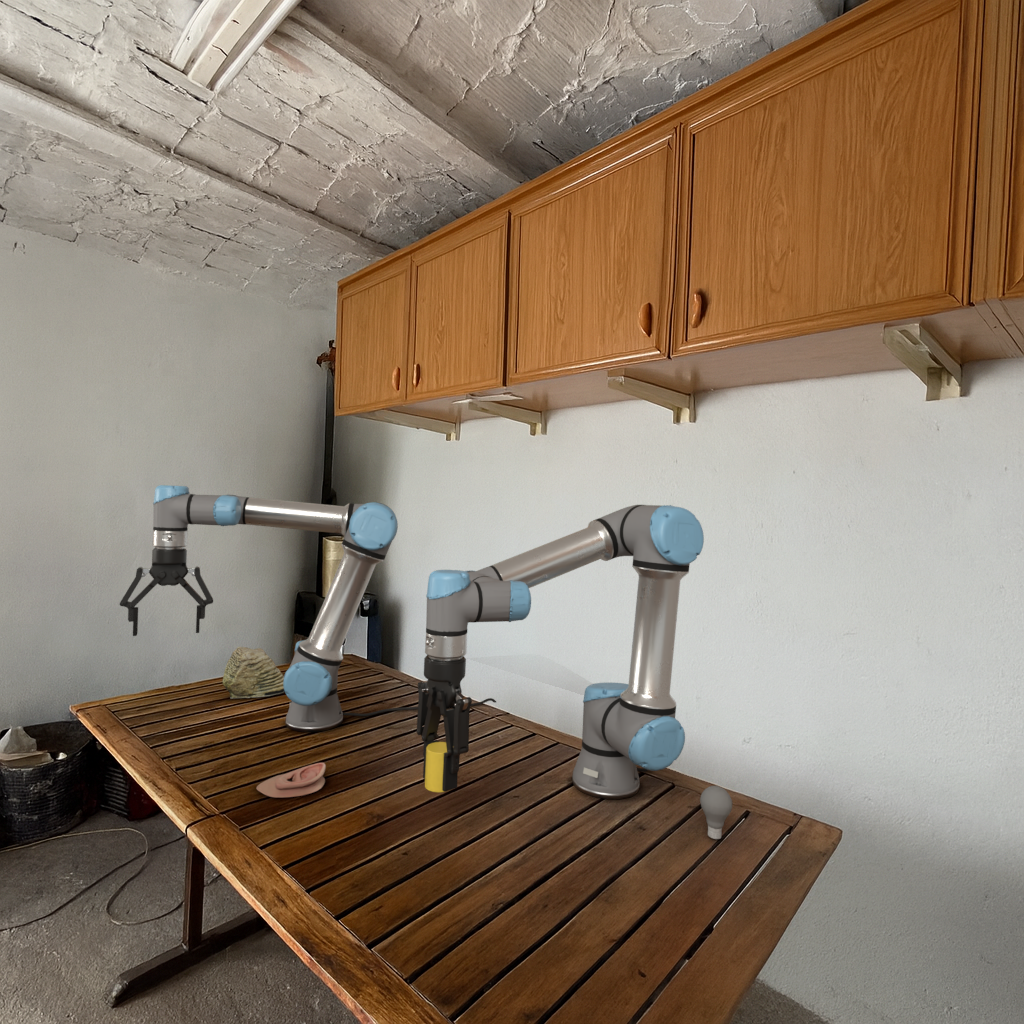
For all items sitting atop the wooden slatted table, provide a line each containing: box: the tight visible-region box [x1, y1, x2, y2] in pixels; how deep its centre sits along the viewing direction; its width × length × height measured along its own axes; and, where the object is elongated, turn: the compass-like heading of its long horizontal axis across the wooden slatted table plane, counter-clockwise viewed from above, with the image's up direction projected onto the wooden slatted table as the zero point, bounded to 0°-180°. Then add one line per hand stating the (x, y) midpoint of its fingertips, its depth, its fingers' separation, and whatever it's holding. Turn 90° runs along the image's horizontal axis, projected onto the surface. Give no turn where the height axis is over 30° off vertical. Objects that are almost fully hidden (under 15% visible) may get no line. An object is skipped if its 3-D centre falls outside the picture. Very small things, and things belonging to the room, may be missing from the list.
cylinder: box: [424, 741, 454, 793], centre depth 115 cm, size 5×5×7 cm
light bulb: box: [699, 785, 734, 840], centre depth 124 cm, size 6×6×10 cm
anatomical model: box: [256, 762, 327, 799], centre depth 137 cm, size 13×4×12 cm
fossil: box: [222, 646, 285, 699], centre depth 198 cm, size 9×18×15 cm, turn 132°
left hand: (166, 633), depth 157 cm, fingers open, 13 cm apart
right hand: (439, 782), depth 115 cm, fingers closed on cylinder, 5 cm apart
